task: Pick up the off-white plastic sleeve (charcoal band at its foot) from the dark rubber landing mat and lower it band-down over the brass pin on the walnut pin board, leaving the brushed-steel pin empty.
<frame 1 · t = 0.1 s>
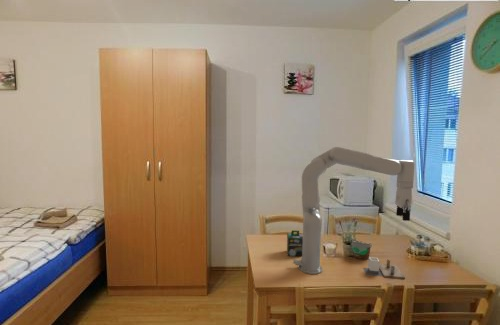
hand: (402, 217, 158), 31 cm above the table, fingers open, 9 cm apart
sleeve: (373, 271, 165), resting on landing mat
food container: (358, 258, 185), on the table
chalk box: (294, 254, 190), on the table
pinboard: (390, 272, 166), on the table
landing mat: (373, 272, 165), on the table
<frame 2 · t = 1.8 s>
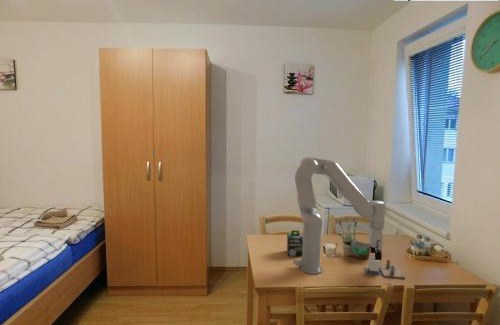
hand: (375, 256, 165), 9 cm above the table, fingers open, 9 cm apart
nothing on the table moved.
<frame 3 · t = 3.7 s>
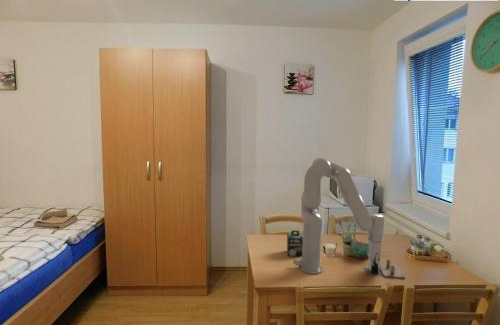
hand: (373, 270, 165), 1 cm above the table, fingers closed on sleeve, 4 cm apart
sleeve: (373, 271, 165), resting on landing mat, touching gripper
everything else where it was.
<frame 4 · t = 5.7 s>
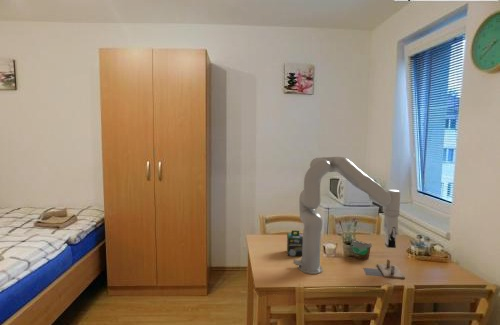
hand: (390, 245, 169), 13 cm above the table, fingers closed on sleeve, 4 cm apart
sleeve: (390, 246, 169), point 13 cm above the table, touching gripper
everything else where it was.
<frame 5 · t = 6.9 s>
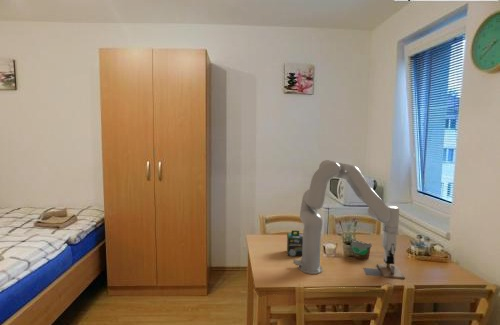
hand: (388, 261, 169), 5 cm above the table, fingers closed on sleeve, 4 cm apart
sleeve: (388, 262, 170), point 4 cm above the table, touching gripper
everything else where it was.
when the fingers open (3 cm above the table, at t = 7.8 s): sleeve drops 2 cm, resting on pinboard.
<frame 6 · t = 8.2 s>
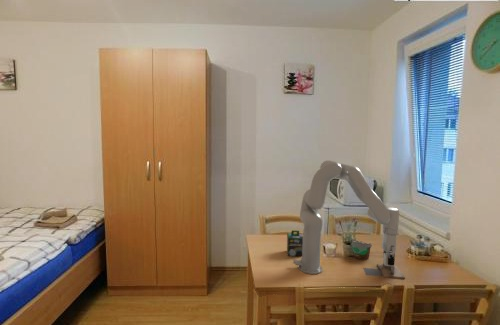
hand: (388, 261, 169), 4 cm above the table, fingers open, 8 cm apart
sleeve: (388, 267, 170), point 1 cm above the table, touching pinboard
everything else where it was.
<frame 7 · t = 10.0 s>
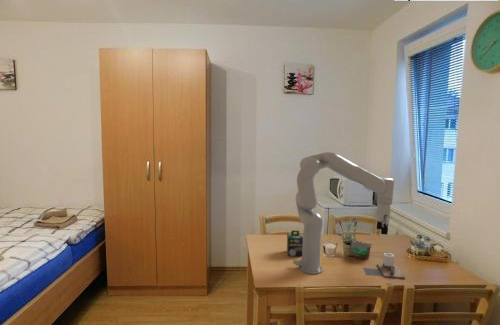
hand: (381, 231, 169), 21 cm above the table, fingers open, 9 cm apart
nothing on the table moved.
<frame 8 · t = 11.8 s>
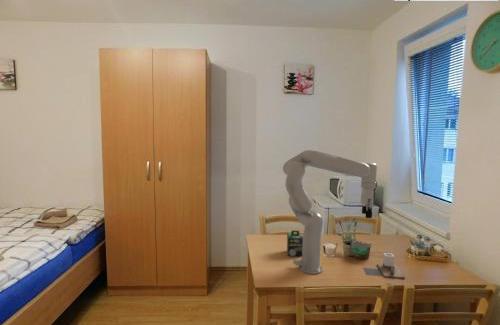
hand: (366, 215, 172), 28 cm above the table, fingers open, 9 cm apart
nothing on the table moved.
at the end: sleeve 0.0 cm from the target spot on the pinboard, point 1.2 cm above the pinboard's base; sleeve tilted 0°; the gripper is holding nothing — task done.
